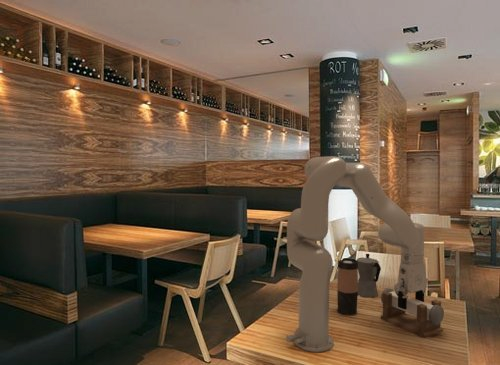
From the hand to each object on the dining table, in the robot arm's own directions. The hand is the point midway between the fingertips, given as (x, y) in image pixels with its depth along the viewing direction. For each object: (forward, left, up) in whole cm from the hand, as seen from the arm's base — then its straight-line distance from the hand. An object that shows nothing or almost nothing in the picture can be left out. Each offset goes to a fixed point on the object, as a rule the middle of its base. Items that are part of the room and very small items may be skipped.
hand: (410, 305), depth 134 cm
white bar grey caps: (0, 0, -3) cm, 3 cm away
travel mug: (-11, +20, -7) cm, 24 cm away
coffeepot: (+11, +29, -7) cm, 32 cm away
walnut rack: (0, 0, -7) cm, 7 cm away
